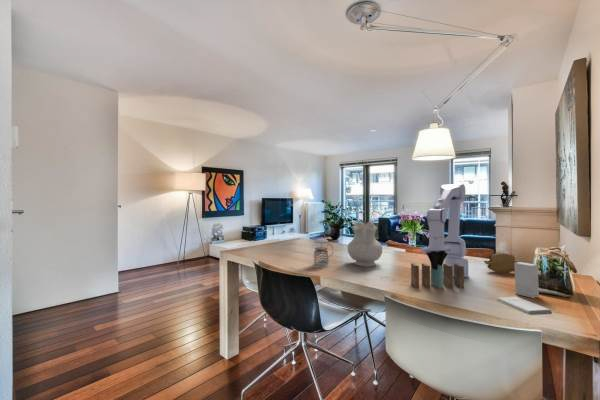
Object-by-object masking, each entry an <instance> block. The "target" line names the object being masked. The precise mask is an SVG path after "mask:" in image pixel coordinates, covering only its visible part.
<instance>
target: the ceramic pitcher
mask: <svg viewBox="0 0 600 400" xmlns="http://www.w3.org/2000/svg"><path fill="white" fill-rule="evenodd" d="M351 229H352V231H353V233H354V234H353V235H354V237H353V239H352V240H351V241H350V242H348V244H347V252H348V255H349V256H350V259H352V260H353V261H355V263H353V264H354V265H356V266H358V267H367V268H368V267H369V268H370V267H375V266H376V261H378V260H379V259H380V258H381V257H382V254H383V245H382V244H381V242H379V241H378V240H377V239H376V233H377V232H376V231H377V230H378V226H376V225H375V222H373V221H370V220H368V221H367V222H360V221H357V222H356V223H355V224H354V225H352V226H351Z"/></svg>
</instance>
